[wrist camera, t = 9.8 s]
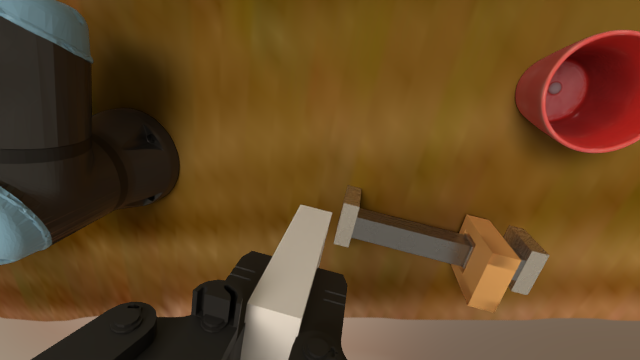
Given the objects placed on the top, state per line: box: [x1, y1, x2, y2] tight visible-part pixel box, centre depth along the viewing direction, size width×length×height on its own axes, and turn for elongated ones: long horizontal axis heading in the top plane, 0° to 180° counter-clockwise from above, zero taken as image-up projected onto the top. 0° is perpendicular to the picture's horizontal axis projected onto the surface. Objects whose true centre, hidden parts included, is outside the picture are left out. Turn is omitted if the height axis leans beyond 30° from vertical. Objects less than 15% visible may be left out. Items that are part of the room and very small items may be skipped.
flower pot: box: [515, 30, 640, 153], centre depth 32 cm, size 11×11×10 cm
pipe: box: [334, 185, 549, 295], centre depth 42 cm, size 25×6×7 cm, turn 78°
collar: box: [451, 215, 521, 313], centre depth 38 cm, size 3×7×10 cm, turn 168°
